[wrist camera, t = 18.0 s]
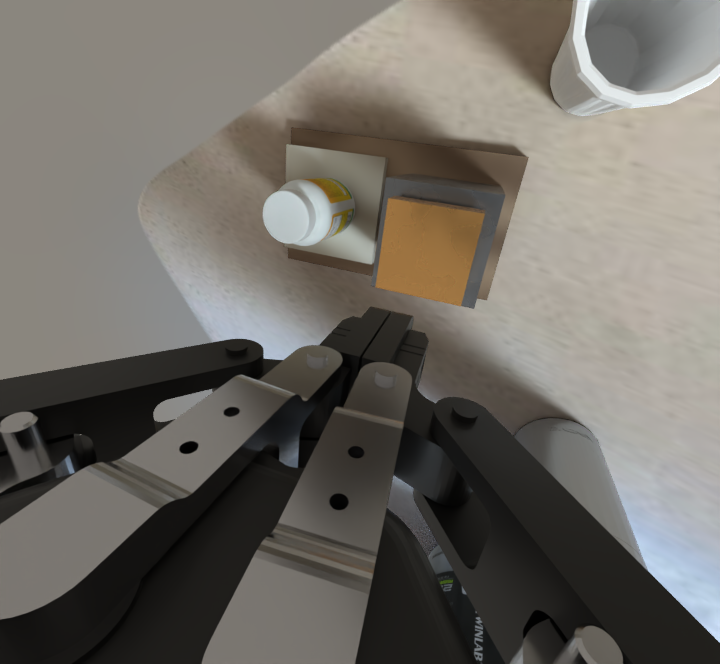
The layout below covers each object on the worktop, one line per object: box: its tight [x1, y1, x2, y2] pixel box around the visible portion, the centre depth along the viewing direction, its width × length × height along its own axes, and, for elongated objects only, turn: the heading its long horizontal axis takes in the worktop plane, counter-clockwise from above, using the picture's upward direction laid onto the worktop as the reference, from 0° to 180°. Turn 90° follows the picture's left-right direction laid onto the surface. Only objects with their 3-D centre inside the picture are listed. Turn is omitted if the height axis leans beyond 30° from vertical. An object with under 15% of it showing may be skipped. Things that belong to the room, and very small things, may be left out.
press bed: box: [284, 128, 529, 300], centre depth 37 cm, size 13×22×2 cm, turn 83°
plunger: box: [376, 196, 485, 306], centre depth 29 cm, size 6×6×12 cm
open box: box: [371, 173, 505, 309], centre depth 31 cm, size 8×8×10 cm
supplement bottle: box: [263, 178, 355, 246], centre depth 33 cm, size 5×5×10 cm
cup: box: [550, 0, 720, 116], centre depth 22 cm, size 8×8×14 cm
